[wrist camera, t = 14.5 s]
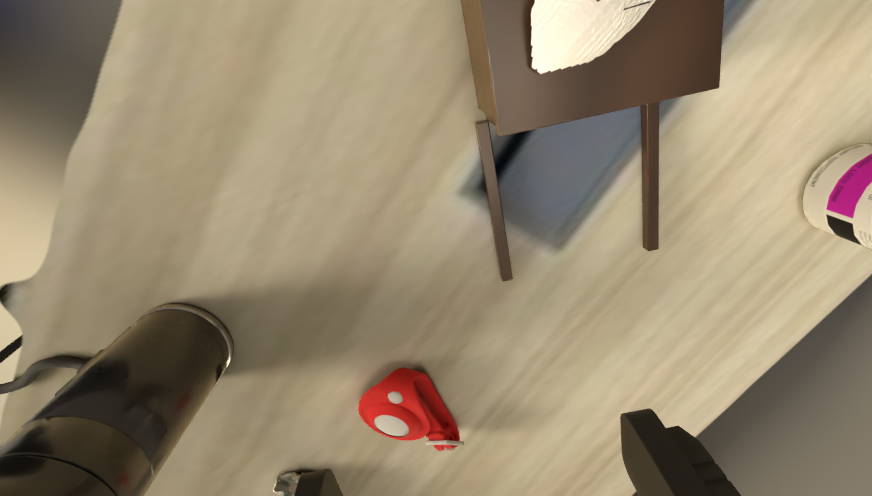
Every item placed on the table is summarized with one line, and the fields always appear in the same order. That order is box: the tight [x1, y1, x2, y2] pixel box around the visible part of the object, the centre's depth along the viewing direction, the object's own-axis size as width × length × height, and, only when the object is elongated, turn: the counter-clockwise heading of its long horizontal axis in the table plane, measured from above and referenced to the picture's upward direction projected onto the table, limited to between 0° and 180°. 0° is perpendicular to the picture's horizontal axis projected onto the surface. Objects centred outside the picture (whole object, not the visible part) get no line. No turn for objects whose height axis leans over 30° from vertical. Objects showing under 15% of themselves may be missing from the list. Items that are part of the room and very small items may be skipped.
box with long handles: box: [461, 0, 724, 281], centre depth 28 cm, size 15×32×14 cm, turn 12°
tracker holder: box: [358, 368, 464, 451], centre depth 45 cm, size 12×4×10 cm
